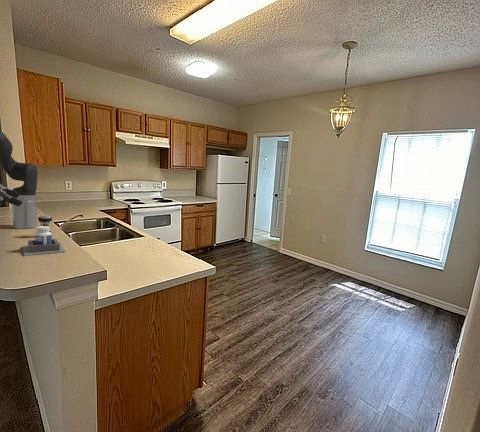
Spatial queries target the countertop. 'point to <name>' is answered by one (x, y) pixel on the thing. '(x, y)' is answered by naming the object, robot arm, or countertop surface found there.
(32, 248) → the socket
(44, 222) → the push button
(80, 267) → the countertop surface
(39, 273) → the countertop surface
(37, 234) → the pill bottle
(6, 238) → the countertop surface
